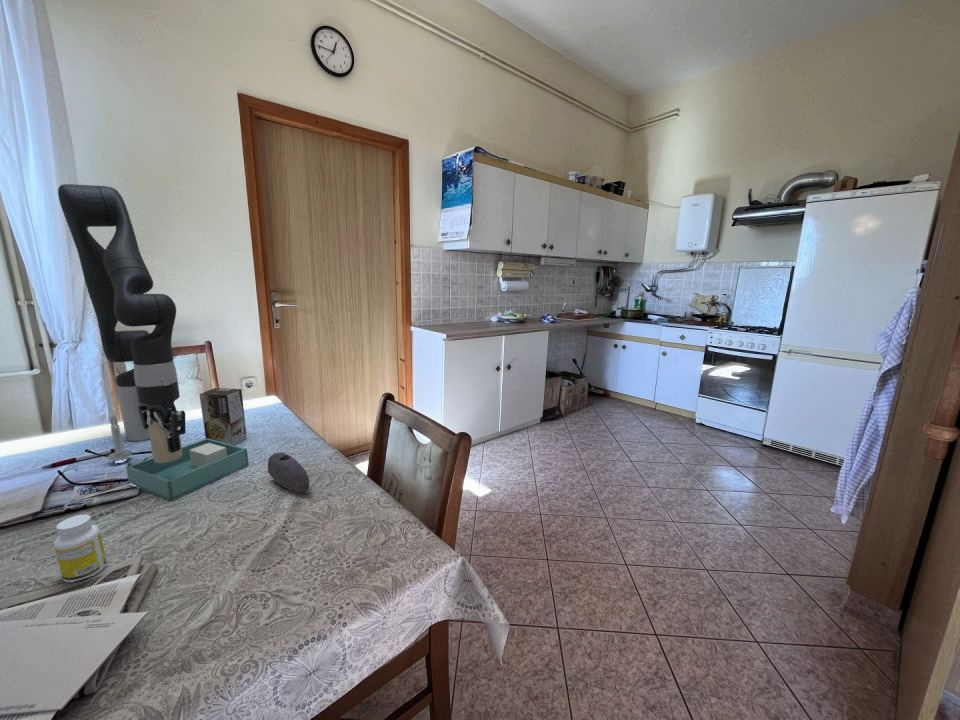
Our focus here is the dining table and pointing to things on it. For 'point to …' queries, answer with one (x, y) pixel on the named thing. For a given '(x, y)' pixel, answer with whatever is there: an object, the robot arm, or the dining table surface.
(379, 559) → the dining table surface
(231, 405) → the coffee box
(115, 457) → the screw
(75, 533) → the supplement bottle
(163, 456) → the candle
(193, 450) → the white box
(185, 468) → the tote
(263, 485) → the dining table surface
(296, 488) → the perforated stone tool
